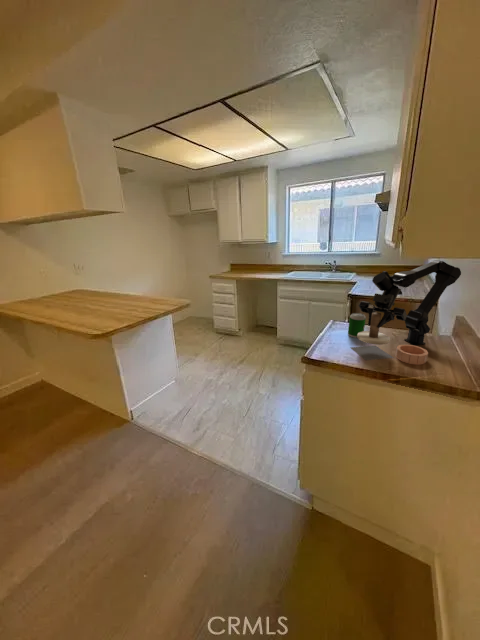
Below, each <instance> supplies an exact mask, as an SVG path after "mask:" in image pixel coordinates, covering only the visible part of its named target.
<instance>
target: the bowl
mask: <svg viewBox="0 0 480 640" xmlns="http://www.w3.org/2000/svg"><path fill="white" fill-rule="evenodd" d="M394 356H395V358H396V359H398V360H399V361H401V362H403V363H406V364H410V365H418V366H419V365H424V364H426V363H427V360H428V356H429V352H428V350H427V349H426V348H423V347H421V346H418V345H413V344H399V345H397V346H396V350H395V355H394Z"/></svg>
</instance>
